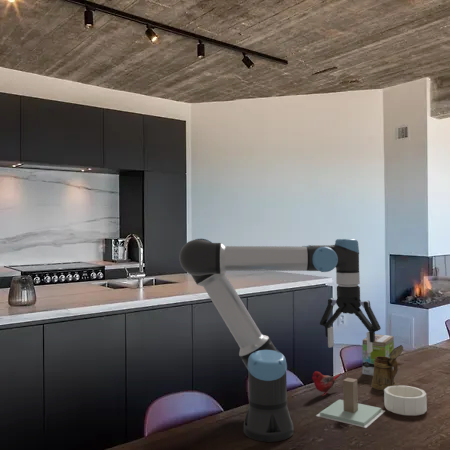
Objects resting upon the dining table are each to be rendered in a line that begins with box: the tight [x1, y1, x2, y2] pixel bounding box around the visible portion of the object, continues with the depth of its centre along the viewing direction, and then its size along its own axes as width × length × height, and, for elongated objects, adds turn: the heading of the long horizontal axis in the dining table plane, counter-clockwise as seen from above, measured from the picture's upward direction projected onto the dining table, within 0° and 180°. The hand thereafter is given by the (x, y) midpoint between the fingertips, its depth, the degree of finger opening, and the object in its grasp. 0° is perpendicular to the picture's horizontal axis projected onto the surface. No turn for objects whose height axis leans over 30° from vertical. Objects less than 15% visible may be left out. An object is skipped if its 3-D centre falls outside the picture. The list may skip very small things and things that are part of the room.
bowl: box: [383, 384, 428, 417], centre depth 162 cm, size 13×13×6 cm
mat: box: [315, 409, 386, 429], centre depth 158 cm, size 17×17×1 cm
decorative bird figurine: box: [311, 370, 342, 397], centre depth 178 cm, size 3×18×10 cm, turn 131°
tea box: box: [362, 333, 395, 377], centre depth 207 cm, size 15×10×15 cm
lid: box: [319, 377, 382, 426], centre depth 159 cm, size 15×15×11 cm
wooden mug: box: [370, 344, 404, 391], centre depth 184 cm, size 9×14×18 cm, turn 30°
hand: (349, 349), depth 159 cm, fingers open, 13 cm apart
